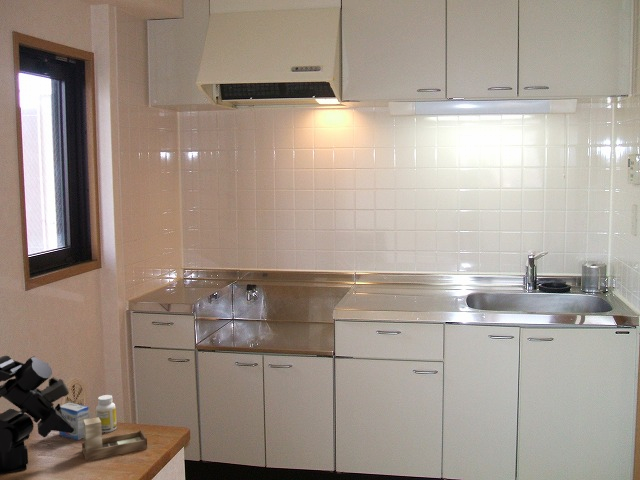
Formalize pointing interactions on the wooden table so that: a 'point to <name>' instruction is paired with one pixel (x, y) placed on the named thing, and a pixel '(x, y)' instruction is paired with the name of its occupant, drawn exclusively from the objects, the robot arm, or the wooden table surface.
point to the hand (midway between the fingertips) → (73, 431)
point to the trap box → (117, 445)
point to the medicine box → (75, 419)
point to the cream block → (92, 434)
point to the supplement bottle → (106, 413)
